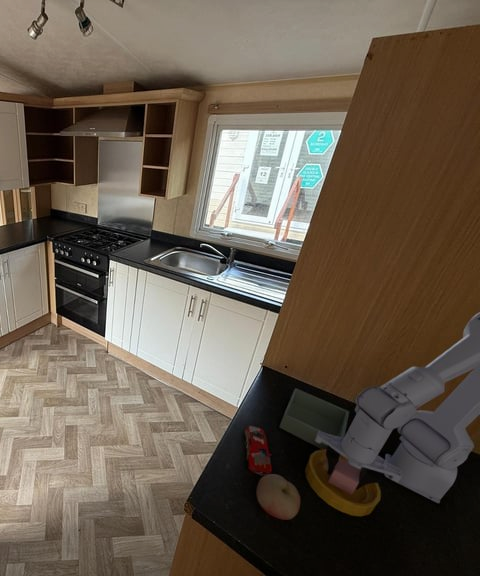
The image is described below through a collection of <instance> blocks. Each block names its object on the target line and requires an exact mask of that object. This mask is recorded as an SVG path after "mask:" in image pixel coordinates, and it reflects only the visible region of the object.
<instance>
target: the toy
mask: <svg viewBox="0 0 480 576" xmlns="http://www.w3.org/2000/svg"><path fill="white" fill-rule="evenodd" d="M360 470H361V469H357V468H355V467H353V466H352V465H350V464H349V463H348V462H347V461H345V460H343V459H341V458H339V461H338V463H337V464H336V465H335V467H334V469H333V472H332V474H331V475H329V480H328V482H329V483H331V484H332V485H334V486H336V487H338V488H339V489H341V490H343V491H345V492H347V493H348V494H350V495H352V493H353V492H354V490H355V488H356V487H357V485H358V484H359V477H360Z"/></svg>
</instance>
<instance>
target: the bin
mask: <svg viewBox="0 0 480 576" xmlns="http://www.w3.org/2000/svg"><path fill="white" fill-rule="evenodd" d="M349 415H350V411H349V410H348V409H345V408H342V407H340V406H339V405H335V404H333V403H331V402H328V401H326V400H324V399H322V398H319V397H318V396H314V395H312V394H310V393H307V392H305V391H303V390H301V389H299V388H296V387H295V388H294V390H293V392H292V394H291V396H290V399H289V402H288V405H287V406H286V409H285V411H284V414H283V415H282V419H281V421H280V424H279V429H282V430H283V431H285V432H287V433H289V434H291V435H293V436H295V437H297V438H299V439H301V440H303V441H305V442H307V443H308V444H311V445H312V446H315V447H317V448H318V449H319V450H322V449H326V450H327V446H328V445H326V444H324V443H322V442H321V443H318V442H316V441H315V438H316V435H317V433H318V431H319V430H320V431H322V432H324V433H327V434H331V435H334V436H338V437H342V438H344V437H345V435H346V432H347V431H346V430H347V425H348V420H349Z"/></svg>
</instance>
